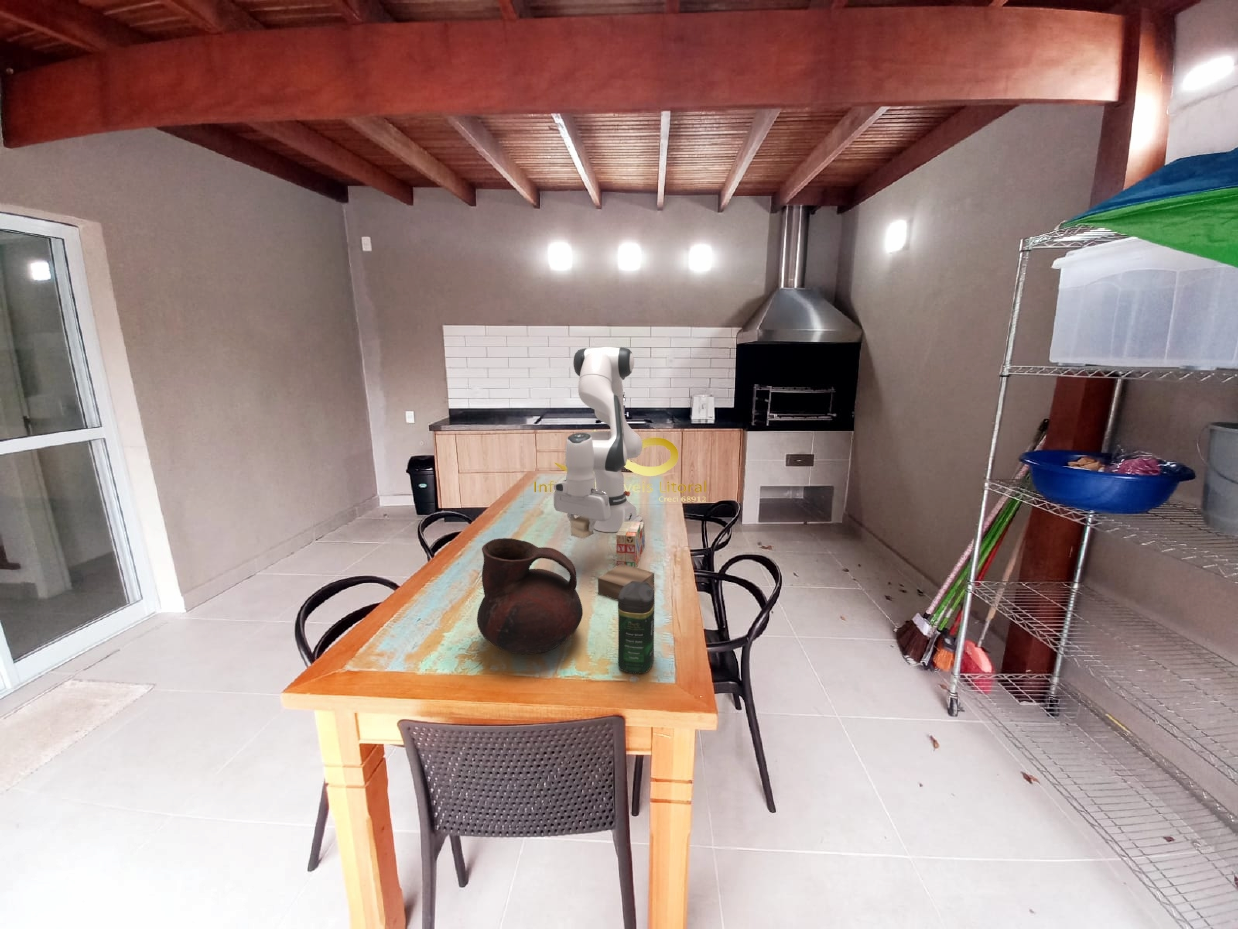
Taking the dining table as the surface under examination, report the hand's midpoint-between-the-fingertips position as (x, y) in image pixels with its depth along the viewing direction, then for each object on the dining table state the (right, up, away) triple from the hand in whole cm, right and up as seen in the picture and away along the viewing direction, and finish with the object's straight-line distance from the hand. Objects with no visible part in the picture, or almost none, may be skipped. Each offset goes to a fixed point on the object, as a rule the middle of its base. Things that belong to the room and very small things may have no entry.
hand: (582, 528), depth 154 cm
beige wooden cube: (0, -2, 0) cm, 2 cm away
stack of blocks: (+16, -12, +16) cm, 25 cm away
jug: (-10, -23, -33) cm, 42 cm away
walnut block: (+14, -17, -9) cm, 24 cm away
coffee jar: (+16, -25, -42) cm, 51 cm away
